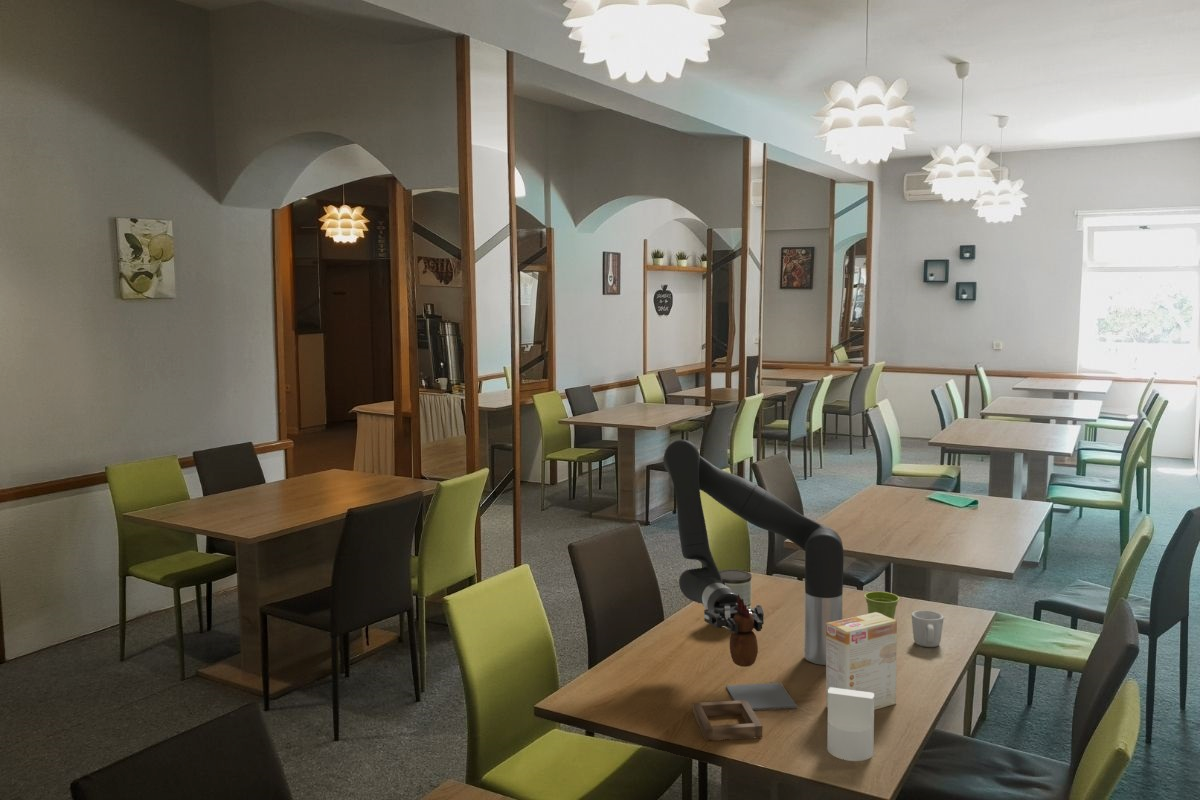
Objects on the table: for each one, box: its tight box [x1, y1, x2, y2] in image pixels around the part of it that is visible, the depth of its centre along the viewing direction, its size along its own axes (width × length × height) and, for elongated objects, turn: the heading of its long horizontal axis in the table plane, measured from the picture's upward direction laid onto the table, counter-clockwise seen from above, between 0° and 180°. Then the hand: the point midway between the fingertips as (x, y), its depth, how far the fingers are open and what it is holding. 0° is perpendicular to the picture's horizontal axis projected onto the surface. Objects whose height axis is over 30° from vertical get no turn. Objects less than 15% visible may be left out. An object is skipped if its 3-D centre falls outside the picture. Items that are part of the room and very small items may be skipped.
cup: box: [911, 609, 945, 648], centre depth 241 cm, size 11×8×8 cm
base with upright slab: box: [826, 687, 875, 762], centre depth 184 cm, size 9×9×12 cm
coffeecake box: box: [825, 612, 898, 711], centre depth 205 cm, size 15×7×20 cm, turn 117°
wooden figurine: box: [729, 595, 759, 668], centre depth 200 cm, size 7×6×15 cm
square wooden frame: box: [692, 700, 763, 741], centre depth 197 cm, size 12×13×2 cm
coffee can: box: [719, 569, 753, 609], centre depth 261 cm, size 10×10×14 cm
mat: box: [726, 682, 798, 711], centre depth 211 cm, size 13×13×1 cm
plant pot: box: [863, 591, 900, 620], centre depth 256 cm, size 9×9×9 cm
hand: (748, 627), depth 197 cm, fingers closed on wooden figurine, 4 cm apart
